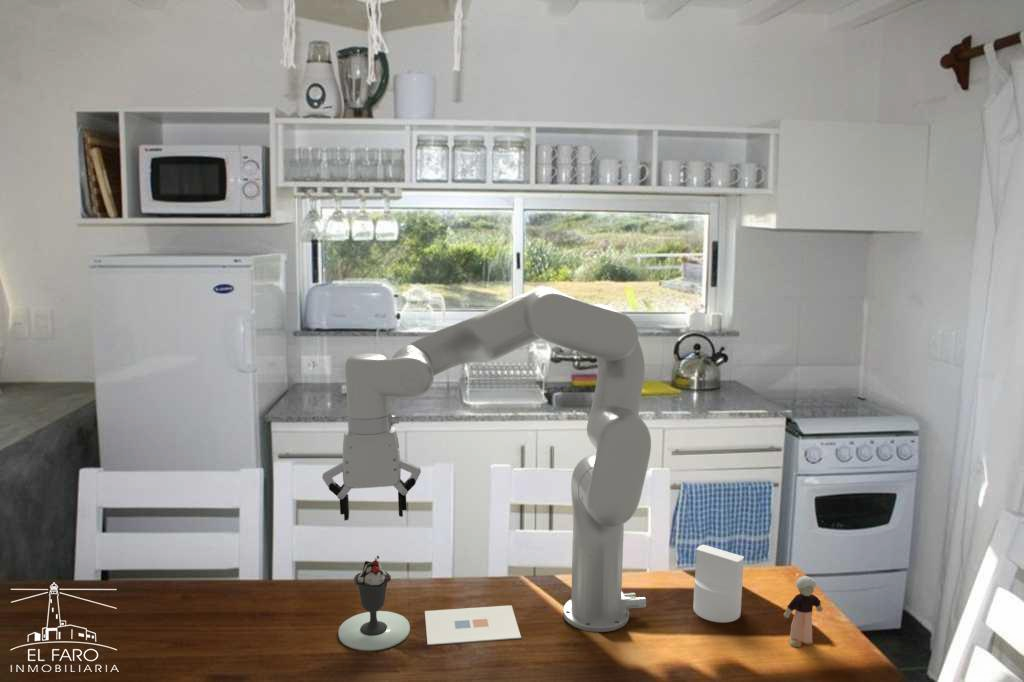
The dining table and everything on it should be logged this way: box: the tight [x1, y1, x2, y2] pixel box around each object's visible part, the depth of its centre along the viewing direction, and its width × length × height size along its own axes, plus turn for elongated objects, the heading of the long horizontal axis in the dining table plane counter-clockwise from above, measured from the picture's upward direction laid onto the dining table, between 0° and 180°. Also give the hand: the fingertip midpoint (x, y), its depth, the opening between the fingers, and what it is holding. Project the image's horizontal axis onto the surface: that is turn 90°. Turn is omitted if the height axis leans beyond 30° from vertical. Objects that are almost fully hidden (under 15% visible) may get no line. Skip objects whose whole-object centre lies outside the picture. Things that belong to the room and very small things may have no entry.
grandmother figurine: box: [783, 575, 823, 648], centre depth 147 cm, size 8×4×13 cm, turn 117°
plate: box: [338, 610, 411, 652], centre depth 151 cm, size 13×13×1 cm
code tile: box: [424, 605, 522, 646], centre depth 153 cm, size 17×12×1 cm
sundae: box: [353, 555, 392, 636], centre depth 149 cm, size 7×7×15 cm
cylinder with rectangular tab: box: [692, 544, 745, 623], centre depth 158 cm, size 9×9×12 cm
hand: (374, 515), depth 147 cm, fingers open, 9 cm apart
